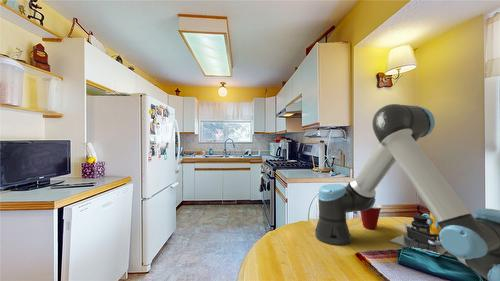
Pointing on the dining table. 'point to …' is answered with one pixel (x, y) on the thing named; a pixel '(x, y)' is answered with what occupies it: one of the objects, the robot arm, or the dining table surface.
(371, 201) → the robot arm
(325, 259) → the dining table surface
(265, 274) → the dining table surface
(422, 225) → the pill bottle
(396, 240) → the duct plate
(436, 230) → the cylinder
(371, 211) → the plastic cup
